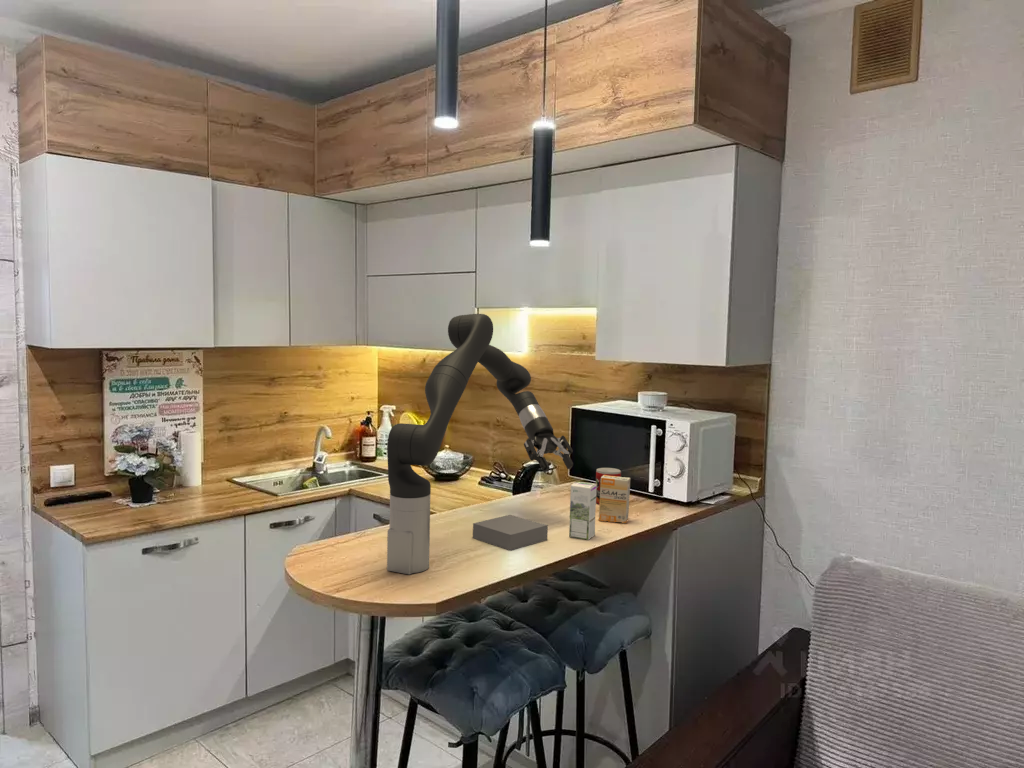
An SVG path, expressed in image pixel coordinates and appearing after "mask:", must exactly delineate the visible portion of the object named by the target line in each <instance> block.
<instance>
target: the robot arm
mask: <svg viewBox="0 0 1024 768" xmlns="http://www.w3.org/2000/svg"><path fill="white" fill-rule="evenodd" d="M447 335H448V339H449V341H450V343H451V344H452V345H453V346H454V347H455V349H454V350H453V351H452V352H450V353H448V354H447V355H446V356H444V357H443V358H442V359H441V360H439V362H438V363H437V364H436V365H435V366H434V367H433V369H432V371H431V373H430V374H429V377H428V379H427V381H426V382H425V387H424V393H425V397H426V402H427V404H428V407H429V409H430V415H429V418H428V419H427V422H426V423H423V424H417V423H416V424H414V423H413V424H412V423H395V424H394V425H393V426H392V427H391V429H390V430H389V432H388V436H387V443H386V444H387V445H386V446H387V447H386V451H387V454H386V455H387V479H388V480H387V481H388V484H389V486H388V487H389V529H387V535H386V536H387V541H386V543H387V544H386V546H387V547H386V549H387V550H386V551H387V552H386V570H387V571H389V572H395V573H400V574H405V575H412V574H416V573H421V572H424V571H426V570H428V569H429V568H430V539H431V537H430V536H431V535H430V534H431V531H430V530H431V529H430V528H431V493H432V492H431V491H432V488H431V487H432V486H431V482H430V481H429V479H427V478H425V477H424V476H421V475H420V474H418V473H417V472H416V471H415V470H414V469H413V467H412V466H421V467H425V466H429V465H431V464H432V463H433V462H434V461H435V459H436V458H437V456H438V454H439V451H440V448H441V446H442V442H443V440H444V437H445V435H446V432H447V429H448V426H449V423H450V420H451V418H452V416H453V414H454V412H455V410H456V407H457V405H458V403H459V401H460V399H461V397H463V394H464V391H465V390H466V387H467V386H468V385H467V384H468V382H469V380H470V378H471V376H472V374H473V372H474V371H475V368H476V367H477V365H478V364H480V365H481V366H482V367H484V368H485V369H486V370H487V371H488V372H489V373H490V374H491V375H492V376H493V378H495V379H496V382H495V383H496V388H497V390H498V391H499V392H500V393H501V394H502V396H504V397H505V398H506V399H507V400H508V401H509V403H511V405H512V406H513V408H514V410H515V412H516V414H517V416H518V418H519V420H520V423H521V426H522V428H523V429H524V432H525V433H526V436H527V439H526V440H525V442H524V443H523V447H524V449H525V451H526V453H527V455H528V458H529V460H530V461H536V462H537V463H538V464H539V467H540V469H541V470H542V471H543V473H547V472H548V471H549V470H550V468H551V467H550V465H549V463H548V461H547V459H546V457H545V456H544V455H547V454H554V455H555V456H559V457H560V458H561V459H562V461H563V463H564V465H565V467H566V468H567V470H571V469H572V468H573V466H574V462H573V460H572V458H571V456H570V455H571V454H573V451H574V450H573V448H572V447H571V445H570V442H569V441H568V440H567V438H566V436H564V435H561V436H560V437H557V436H555V434H554V428H553V427H552V424H551V423H550V420H549V419H548V416H546V413H545V412H544V410H543V409H542V407H541V406H540V403H539V401H538V400H537V398H536V395H535V394H534V393H533V392H532V391H529V390H525V391H522V390H524V389H526V388H527V387H528V386H529V385H531V381H532V377H531V374H530V371H529V370H528V369H527V368H526V367H525V366H523V365H521V364H519V363H517V362H514V361H512V359H510V358H509V356H508V354H506V353H505V352H504V351H503V350H501V349H499V348H498V347H495V346H493V345H491V342H492V339H493V335H494V323H493V321H492V319H491V317H490V316H489V315H487V314H485V313H470V314H469V313H468V314H460V315H456V316H453V317H452V318H451V319H450V320H449V323H448V326H447ZM520 391H522V392H520ZM557 448H558V449H557ZM411 465H412V466H411Z"/></svg>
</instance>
